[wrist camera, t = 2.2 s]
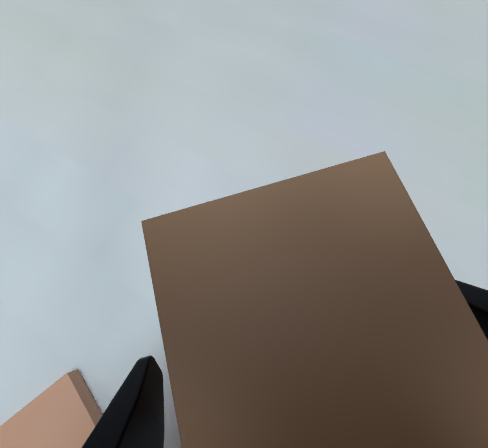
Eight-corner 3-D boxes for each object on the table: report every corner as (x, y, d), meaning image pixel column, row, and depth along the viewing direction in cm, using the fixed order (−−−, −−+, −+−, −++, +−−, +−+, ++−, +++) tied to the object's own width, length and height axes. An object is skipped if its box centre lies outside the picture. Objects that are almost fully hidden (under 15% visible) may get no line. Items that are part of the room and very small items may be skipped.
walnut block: (324, 344, 16) (541, 439, 4) (244, 370, 16) (201, 560, 4) (295, 264, 18) (384, 151, 5) (222, 287, 18) (141, 221, 5)
